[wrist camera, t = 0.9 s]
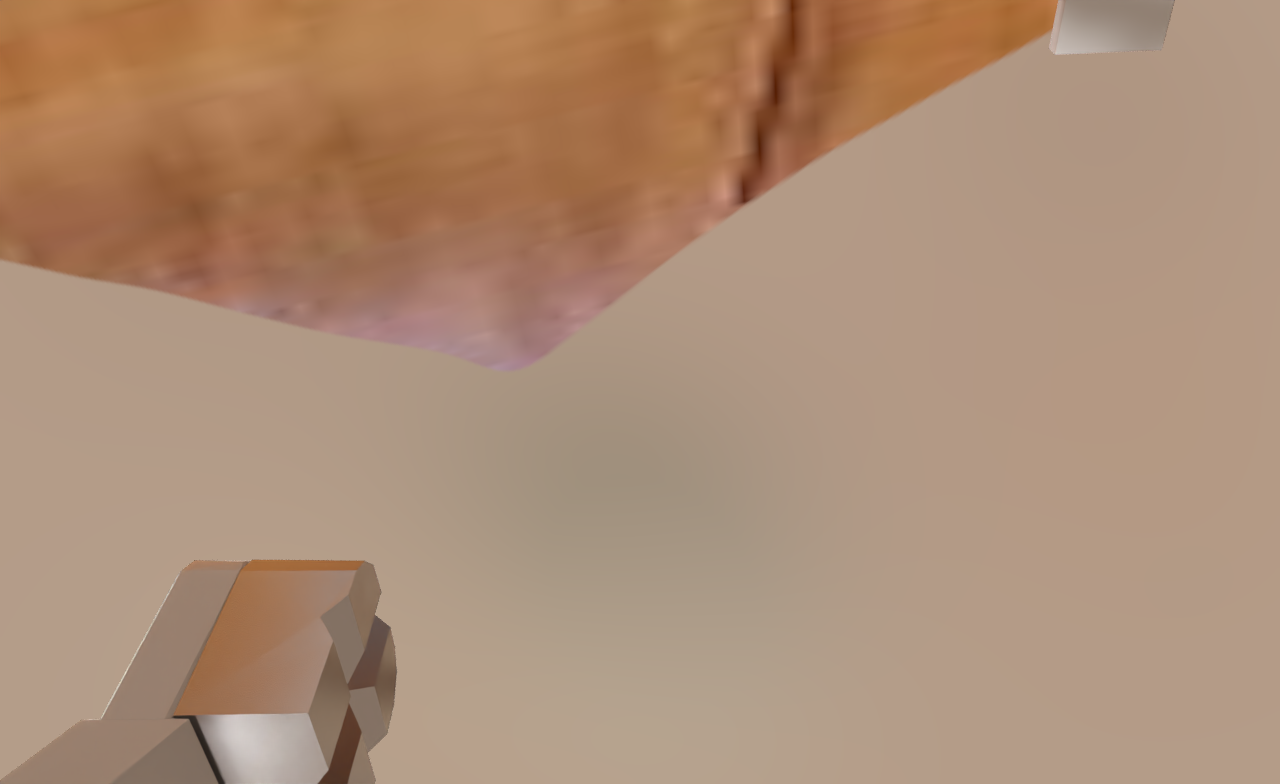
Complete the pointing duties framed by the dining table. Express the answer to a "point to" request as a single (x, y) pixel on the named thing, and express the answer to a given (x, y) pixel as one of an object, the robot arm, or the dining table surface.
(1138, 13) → the block
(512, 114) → the dining table surface
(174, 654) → the robot arm
